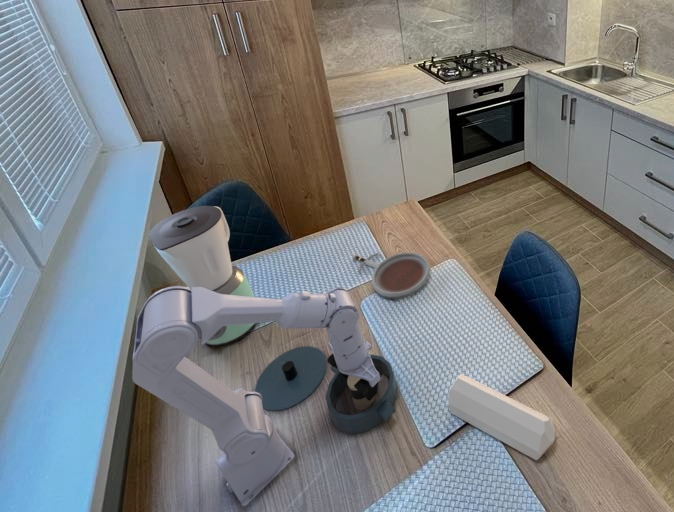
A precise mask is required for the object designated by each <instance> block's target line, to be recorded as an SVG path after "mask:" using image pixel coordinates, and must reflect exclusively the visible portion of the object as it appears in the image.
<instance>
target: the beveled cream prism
mask: <svg viewBox="0 0 674 512" xmlns="http://www.w3.org/2000/svg"><path fill="white" fill-rule="evenodd" d="M447 397H448V399H447V401H448V403H447V404H448V406H449V411H450V414H452V415H453V416H455V417H456V418H458V419H461V420H462V421H464V422H466V423H468V424H470V425H471V426H473V427H475V428H477V429H479V430H480V431H482V432H484V433H486V434H488V435H490V436H492V437H493V438H495V439H497V440H498V441H501V442H502V443H504V444H505V445H508V446H510V447H511V448H513V449H515V450H517V451H518V452H520V453H522V454H524V455H525V456H528V457H529V458H532V459H533V460H535V461H539V459H540V458H541V457H542V456H543V455H544V454H545V453H546V452H547V451H548V449H549V448H550V447H551V446H552V445H553V443H554V442H555V440H556V429H555V424H554V420H553V419H552V418H551V417H550V416H547V415H546V414H544V413H541V412H540V411H537V410H536V409H533V408H531V407H529V406H528V405H525V404H523V403H521V402H519V401H517V400H515V399H513V398H511V397H510V396H507V395H505V394H504V393H501V392H499V391H498V390H495V389H493V388H491V387H489V386H488V385H486V384H483V383H481V382H479V381H477V380H475V379H473V378H471V377H469V376H467V375H465V374H462V373H460V374H459V375H458V376H456V379H454V381H453V383H452V385H451V386H450V387H449V390H448V395H447Z"/></svg>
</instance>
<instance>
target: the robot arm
mask: <svg viewBox="0 0 674 512" xmlns="http://www.w3.org/2000/svg"><path fill="white" fill-rule="evenodd" d="M273 322H276V323H277V324H278V325H279V326H280V328H281V329H283V330H289V329H291V330H292V329H293V330H294V329H295V330H296V329H325V331H326V332H327V337H328V339H329V342H327V345H328V348H329V350H330V351H331V352H332V353H331V354H330V355H329V356H328V357H327V359H326V362H327V364H329V365H330V367H331V366H333V367H335V368H337V369H338V370H339V372H340V373H341V374H342V376H343V377H344V378H345V379H346V380H347V379H348V376H349V375H350V376H354V377H357V378H361V379H360V380H359V381H358V382H357V383H356V384H355V385H354V387H355V388H356V389H357V390H358V391H359V392H361V393H363V394H364V396H365V397H366V399H368V400H369V401H370V400H371V399H372V398H373V397H374V396H375V397H376V396H377V394H378V389H379V383H380V381H381V380H382V379H381V378H382V376H383V375H384V374H383V368H382V367H380V366H379V365H377V366H375V367H374V364H373V362H372V359H371V357H370V355H371V354H370V352H369V351H370V350H371V349H372V344H371V343H370V342H369V341H368V340H365V338H364V335H363V333H362V328H361V325H360V312H358V309H357V307H356V305H355V302H354V301H353V298H352V296H351V294H350V293H349V292H348V290H347V289H345V288H343V287H338V286H337V287H334V288H333V287H332V288H331V289H328V290H327V291H322V292H320V293H310V292H309V290H308V291H307V290H302V291H300V292H290V293H288V294H287V295H286V296H284V297H282V298H281V299H278V298H267V297H258V296H257V297H256V296H255V297H247V296H236V295H226V294H219V293H216V292H214V291H211V290H208V289H206V288H203V287H192V288H191V289H190V288H187V286H182V285H173V286H168V287H165V288H161V289H160V290H159V289H158V290H157V291H155V292H154V293H152V295H150V296H149V297H148V298H147V299H146V301H145V303H144V304H143V306H142V308H141V310H140V312H139V313H138V315H137V319H136V327H135V329H136V330H135V336H134V343H133V344H134V345H133V352H132V371H131V373H132V375H131V380H132V382H133V383H134V384H135V385H137V386H138V387H140V388H141V389H143V390H145V391H146V392H148V393H150V394H152V395H153V396H155V397H157V398H158V399H160V400H162V401H163V402H165V403H167V404H168V405H170V406H172V407H173V408H174V409H177V410H178V411H180V412H182V413H183V414H185V415H187V416H188V417H190V418H191V419H193V420H195V421H196V422H198V423H199V424H201V425H203V426H204V427H206V428H208V429H209V430H211V432H212V434H213V437H214V439H215V441H216V444H217V446H218V448H219V450H220V451H221V452H222V454H221V455H220V456H219V457H218V458H217V460H216V461H215V465H216V466H217V468H218V469H219V471H220V472H221V474H222V475H223V477H224V479H225V481H226V482H227V483H226V484H225V485H226V488H227V489H228V490H229V492H230V493H234V495H235V496H236V498H237V499H238V501H239V502H240V504H241V506H242V507H245V506H247V505H249V503H251V501H252V500H253V499H254V498H255V497H256V496H257V495H258V494H259V493H260V492H261V491H262V490H263V489H264V488H265V487H266V486H267V485H268V484H269V483H270V482H272V480H273V479H275V477H277V475H278V474H280V473H281V472H282V471H283V470H284V468H286V467H287V466H288V465H289V464H290V462H292V461H293V459H294V458H295V454H294V452H293V451H292V450H291V448H290V447H289V446H288V445H287V444H286V442H285V441H284V440H283V438H282V437H281V436H280V435H279V433H278V431H277V429H276V426H275V425H274V423H273V420H272V419H271V417H269V416H268V415H266V414H265V411H264V408H263V405H262V401H263V399H262V396H261V394H260V393H258V392H255V391H249V390H246V389H244V388H243V387H240V388H237V389H235V390H232V389H231V388H229V387H228V386H227V385H226V384H224V383H223V382H221V381H220V380H218V379H217V378H215V377H214V376H213V375H211V374H210V373H209V372H207V371H206V370H204V369H203V368H202V367H200V365H198V364H196V363H195V362H193V361H192V360H191V359H189V358H188V357H187V355H188V354H189V353H190V352H191V351H192V350H193V348H194V347H196V344H197V342H198V340H199V339H200V338H201V339H200V345H201V346H203V345H206V342H207V341H208V340H209V339H210V338H211V337H212V336H213V335H214V334H215V333H216V332H217V331H218V330H219V329H220V328H221V327H223V326H228V325H240V324H252V323H256V324H262V323H273ZM251 496H252V497H251Z"/></svg>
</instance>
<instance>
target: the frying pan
mask: <svg viewBox="0 0 674 512" xmlns="http://www.w3.org/2000/svg"><path fill="white" fill-rule="evenodd" d="M377 256H379V253H378V252H376V253H373V254H371V255H369V256H368V257H367V258H363V257H362V256H359V255H358V254H357V253H356V254H353V255H352V259H353V260H354V261H355V260H357V261H360V262H361V263H360V264H359V266H358V269H357V271H358V273H360V272H361V270H362V269H361V268H362V267H363V266H364V265H368V266H370V267H373V268H375V269H374V271H373V273H372V276H371V286H372V287H373V289H374V291H375V292H377V293H378V294H379V295H381V296H382V297H383V298H385V299H390V300H401V299H405V298H409V297H411V296H413V295H415V294H417V293H418V292H419V291H420V290H421V289H423V288H424V286H425V285H426V283H427V282H428V279H429V277H430V274H431V264H430V262H429V261H428V260H427V258H426V257H425V256H424V255H421V254H420V253H416V252H412V251H408V252H405V251H404V252H399V253H395V254H393V255H390V256H388V257H386V258H385V259H383V260H382V261H381V262H380V263H378V262H375V261H373V260H371V259H372V258H374V257H377Z"/></svg>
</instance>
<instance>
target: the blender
mask: <svg viewBox="0 0 674 512" xmlns="http://www.w3.org/2000/svg"><path fill="white" fill-rule="evenodd" d="M230 236H231V231H230V227H229V224H228V222H227V219H226V216H225V214H224V212H223V210H222V208H221V207H220V206H216V205H215V206H213V205H200V206H194V207H190V208H186V209H183V210H180V211H178V212H175V213H173V214H171V215H169V216H167V217H165V218H164V219H162V220H160V221H159V222H158V223H157V224H155V225H154V226H153V227H152V228H151V229H150V230H149V233H148V236H147V238H148V240H149V242H150V243H151V244H152V245H153V247H154V249H155V250H156V251H157V252H158V254H159V255H160V256H161V258H162V259H163V260H164V261H165V262H166V264H167V265H168V266H169V267H170V269H172V271H173V272H174V273H175V274H176V275H177V276H178V278H179V279H180V280H181V281H182V282H183V283H184V285H185V287H187V288H190V289H191V288H192V287H203V288H206V289H208V290H211V291H214V292H216V293H219V294H226V295H236V296H247V297H256V296H255V294H254V292H253V289H252V286H251V285H250V283H249V280H248V278H247V276H246V274H245V272H244V271H243V270H242V269H241V268H240V267H238V266H236V265H232V259H231V254H230V249H229V241H230ZM256 325H257V323H252V324H240V325H228V326H223V327H221V328H220V329H219V330H218V331H217V332H216V333H215V334H214V335H213V336H212V337H211V338H210V339H209V340H208V341H207V342H206V343H205V345H206V346H213V347H218V346H224V345H228V344H231V343H234V342H236V341H239V342H240V341H242V340H244V339H245V338H246V336H247V334H248V333H249V332H250V331H252V329H253V328H254V327H255V326H256ZM199 339H200V340H201V338H199Z"/></svg>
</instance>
